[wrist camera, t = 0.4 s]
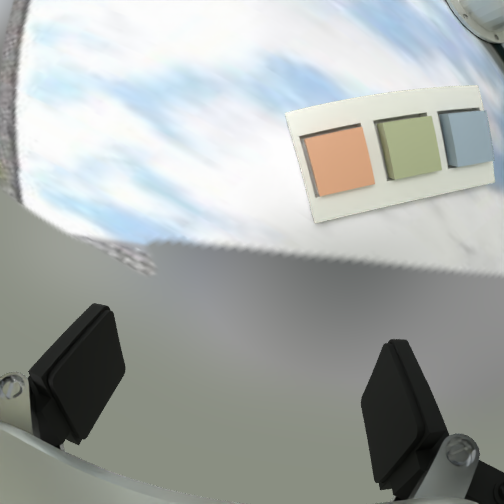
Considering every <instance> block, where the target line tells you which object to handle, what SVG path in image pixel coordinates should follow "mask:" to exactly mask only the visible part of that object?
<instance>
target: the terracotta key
mask: <svg viewBox="0 0 504 504" xmlns="http://www.w3.org/2000/svg"><path fill="white" fill-rule="evenodd" d="M304 142H305V146H306V149H307V153H308V157H309V160H310V164H311V168H312V172H313V175H314V179H315V183H316V187H317V191H318V194H319V196H325V195H329V194H333V193H337V192H342V191H346V190H350V189H355V188H359V187H364V186H368V185H373V184H375V180H374V175H373V170H372V166H371V161H370V157H369V152H368V148H367V144H366V140H365V136H364V132H363V128H362V127H356V128H351V129H346V130H342V131H337V132H332V133H328V134H323V135H319V136H314V137H310V138H306V139H304Z"/></svg>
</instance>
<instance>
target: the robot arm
mask: <svg viewBox="0 0 504 504" xmlns="http://www.w3.org/2000/svg"><path fill="white" fill-rule="evenodd" d="M446 1H447V2H448V4H449V6H450V8H451V9H452V11H453V12H454V14H455V15H456V16H457V17H458V19H459V20H460V21H461V22H462V23H463V24H464V25H465V26H466V27H467V28H468V29H469V30H470V31H471V32H473V33H474V34H475V35H477V36H478V37H480V38H481V39H483V40H485V41H487V42H490V43H494V44H500V43H504V0H446ZM28 372H29V374H30V376H29V377H28V378H27V377H26V376H25V375H23V374H22V373H19V372H9V373H6V374H4V375H2V376H1V377H0V504H245V503H236V502H229V501H222V500H216V499H210V498H205V497H200V496H195V495H190V494H186V493H181V492H177V491H172V490H169V489H165V488H162V487H158V486H154V485H151V484H148V483H144V482H141V481H138V480H135V479H132V478H128V477H125V476H123V475H120V474H117V473H114V472H112V471H109V470H106V469H103V468H101V467H99V466H96V465H94V464H91V463H89V462H87V461H84V460H82V459H80V458H78V457H75V456H73V455H71V454H69V453H67V452H65V449H64V445H63V442H64V441H65V439H67V440H68V441H70V442H73V443H75V444H77V445H79V444H80V442H81V440H82V439H86V438H87V436H88V435H89V433H90V431H91V429H92V428H93V426H94V424H95V422H96V421H97V419H98V417H99V415H100V414H101V412H102V411H103V409H104V407H105V406H106V404H107V402H108V401H109V399H110V397H111V395H112V394H113V392H114V391H115V389H116V387H117V386H118V384H119V382H120V381H121V379H122V377H123V376H124V373H125V363H124V359H123V355H122V351H121V347H120V342H119V337H118V333H117V328H116V323H115V318H114V313H113V312H112V311H110V308H109V307H108V306H105V305H101V304H96V303H94V304H92V305H91V306H90V307H89V308H88V309H87V310H86V311H85V312H84V313H83V314H82V315H81V316H80V317H79V318H78V319H77V320H76V321H75V322H74V323H73V324H72V325H71V326H70V327H69V328H68V329H67V330H66V331H65V332H64V333H63V334H62V335H61V336H60V337H59V339H58V340H57V341H56V342H55V343H54V344H53V345H52V346H51V347H50V348H49V349H48V350H47V351H46V352H45V353H44V355H43V356H42V357H41V358H40V359H39V360H38V361H37V362H36V363H35V364H34V366H33V367H32V368H31V369H30V370H29V371H28ZM361 408H362V413H363V418H364V423H365V428H366V434H367V439H368V445H369V451H370V456H371V463H372V469H373V475H374V480H375V482H376V483H379V487H380V490H385V489H392V490H393V495H394V496H393V498H392V499H391V501H390V502H385V503H377V504H504V473H503V472H501V471H499V470H497V469H496V468H494V467H492V466H490V465H487V464H486V463H484V462H482V461H480V460H479V456H480V453H479V448H478V446H477V444H476V442H475V441H474V440H473V439H472V438H470V437H469V436H467V435H464V434H453V435H450V436H449V433H448V431H447V428H446V426H445V423H444V420H443V418H442V415H441V413H440V411H439V408H438V406H437V404H436V401H435V399H434V396H433V394H432V392H431V390H430V387H429V385H428V383H427V381H426V379H425V377H424V375H423V373H422V370H421V368H420V366H419V364H418V362H417V360H416V358H415V356H414V353H413V351H412V349H411V347H410V345H409V343H408V341H407V340H400V339H396V340H395V339H391V340H390V341H389V342H388V343H385V344H384V345H383V347H382V350H381V353H380V355H379V358H378V360H377V363H376V365H375V368H374V370H373V373H372V375H371V377H370V380H369V382H368V385H367V387H366V389H365V391H364V393H363V396H362V399H361Z"/></svg>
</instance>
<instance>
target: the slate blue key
mask: <svg viewBox="0 0 504 504" xmlns="http://www.w3.org/2000/svg"><path fill="white" fill-rule="evenodd" d="M439 117H440V121H441V126H442V131H443V136H444V141H445V146H446V152H447V158H448V164H449V165H452V166H456V167H461V166H467V165H472V164H478V163H484V162H489V161H494V153H493V146H492V139H491V133H490V128H489V122H488V117H487V113H486V111H469V112H458V113H448V114H439Z"/></svg>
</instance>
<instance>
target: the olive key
mask: <svg viewBox="0 0 504 504" xmlns="http://www.w3.org/2000/svg"><path fill="white" fill-rule="evenodd" d="M377 128H378V132H379V136H380V140H381V145H382V149H383V154H384V158H385V163H386V168H387V173H388V177H390V178H392V179H395V180H396V179H401V178H405V177H410V176H415V175H420V174H425V173H430V172H435V171H440V170H442V166H441V160H440V154H439V149H438V143H437V138H436V133H435V129H434V124H433V120H432V116H423V117H416V118H409V119H402V120H396V121H390V122H384V123H378V124H377Z"/></svg>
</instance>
